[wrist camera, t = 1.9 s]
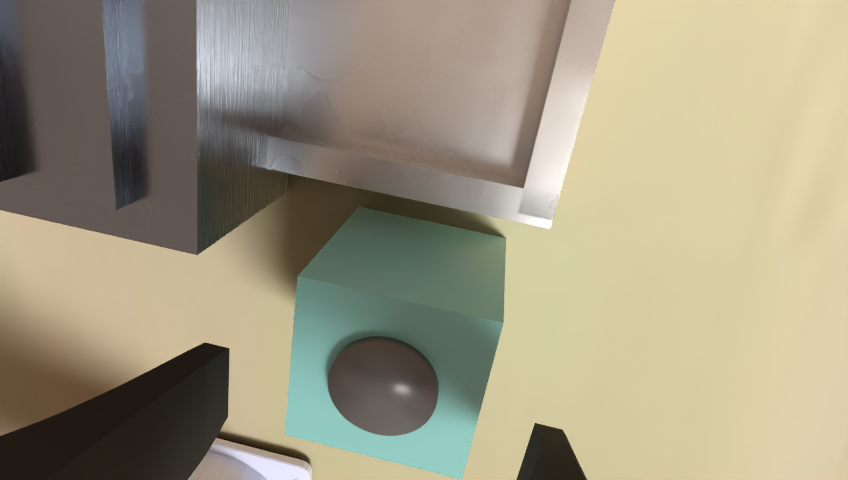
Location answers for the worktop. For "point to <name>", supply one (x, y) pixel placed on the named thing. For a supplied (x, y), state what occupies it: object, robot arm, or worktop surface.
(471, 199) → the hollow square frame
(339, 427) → the teal block with knob
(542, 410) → the worktop surface
